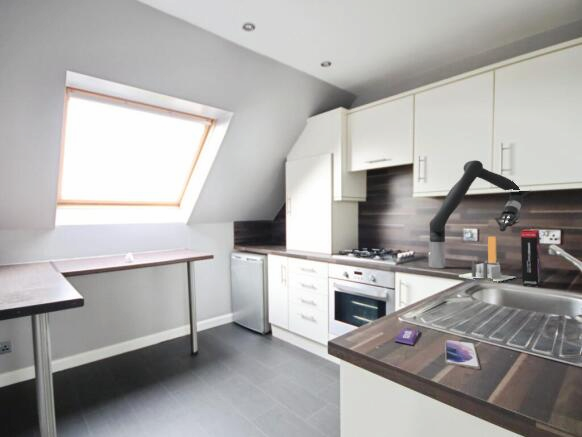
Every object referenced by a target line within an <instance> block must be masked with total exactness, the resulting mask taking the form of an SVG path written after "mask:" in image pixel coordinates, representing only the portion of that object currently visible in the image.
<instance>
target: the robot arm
mask: <svg viewBox="0 0 582 437" xmlns="http://www.w3.org/2000/svg"><path fill="white" fill-rule="evenodd" d="M477 178H478V179H480V180H481V179H482V180H483V181H485V182H487V183H490V184H492V185H493V186H495V187H497V188H499V189H501V190H503V191H506V190H508V191H510V193H509V199H508V201H507V203H506V204H505V206H504V208H503V210H502V211H501V215H499V217H495V218H494V220H495V222H496V224H497V225H498V226H499V228H498V229H499V231H500V232H505V231H506V230H507V228H508V227H511V228H512V227H513V226H515V225H516V224H518V223H519V222H520V219H519V217H517V216H518V214H519V212H520V210H521V206H522V204H523V203H524V198H523V197H525V196H526V195H527V194H529V193H530V192H531V190H530V191H519V192H511V191H512V189H513V190H520V189H519V187H518V186H517V185H516V184H515V183H514V182H513V181H514V180H512V179H509V178H508V177H506V176H503V175H501V174H498V173H496V172H493V171H490V170H488V169H486V168H484V166H483V163H482V162H481V161H479V160H478V159H477V160H469V161H467V162H466V163H465V164H464V165H463V175H462V176H461V178H460V179H459V180H458V181H457V182H455V184H454V185H453V186H452V187H451V189H450V190H449V192H448V193H447V195H446V197H445V198H444V200H443V202H442V204H441V207H440V208H439V210H438V211H437V213H436V214H435V215H434V217H433V218H432V219H431V220H430V222H429V252H428V267H429V268H432V269H445V268H446V243H445V242H446V234H445V233H446V224H447V223H448V220H449V218H450V216H451V215H452V214H453V213H454V211H455V210H456V209H457V208H458V207H459V205H460V203H461V202H462V200H464V198H465V196H466V195H467V193H468V191H469V189H470V188H471V186H472V184H473V183H474V181H475V180H476V179H477ZM511 180H512V181H511Z"/></svg>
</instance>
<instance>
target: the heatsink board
mask: <svg viewBox="0 0 582 437" xmlns="http://www.w3.org/2000/svg"><path fill="white" fill-rule="evenodd" d="M458 277H459V278H464V279H470V280H474V279H473V278H491V279H493V281H497V282H498V281H503V280H508V279H513V278H516V279H517V277H516V276H512V275H506V274H505V275H504V274H502V273H501V262H500V261H497V262H496V265H493V264H488V260H485V261H484V262H482V263H479V264H477V261H474V260H472V261H471V272H469V273H467V272H466V273H463V274H459V275H458ZM513 280H514V279H513ZM508 281H509V280H508Z"/></svg>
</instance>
